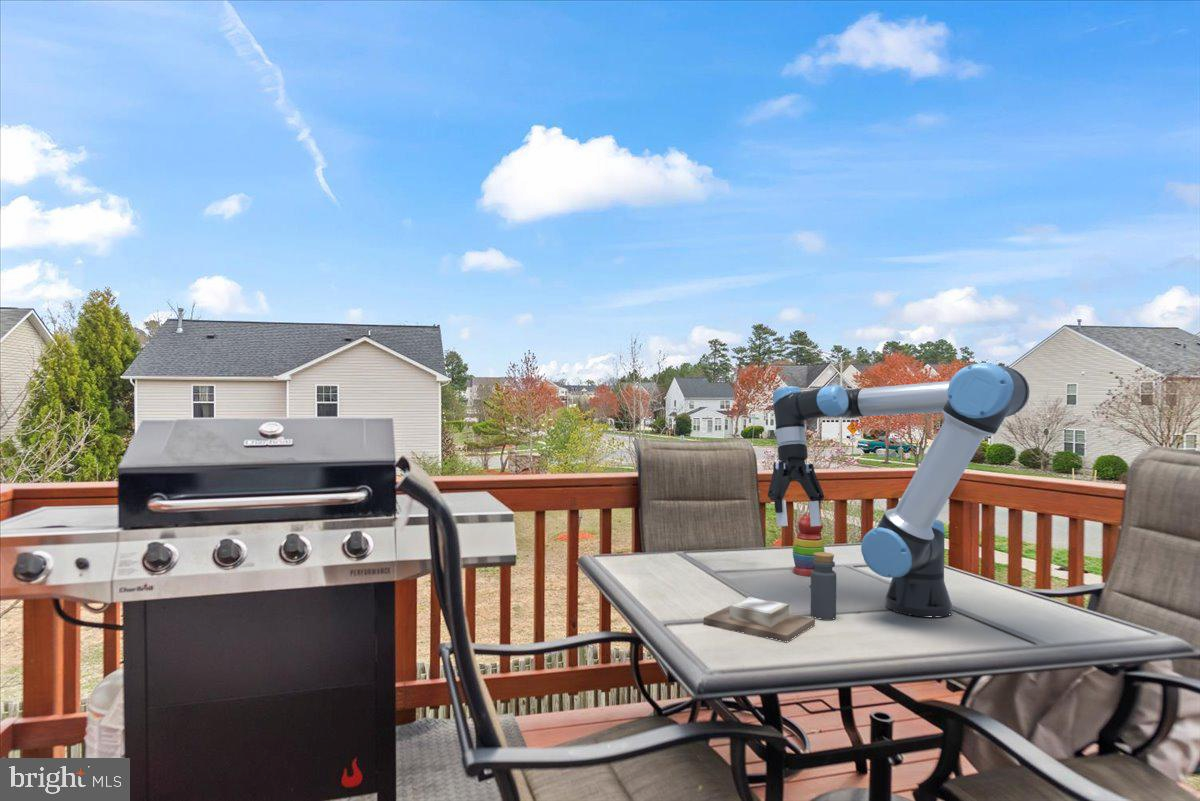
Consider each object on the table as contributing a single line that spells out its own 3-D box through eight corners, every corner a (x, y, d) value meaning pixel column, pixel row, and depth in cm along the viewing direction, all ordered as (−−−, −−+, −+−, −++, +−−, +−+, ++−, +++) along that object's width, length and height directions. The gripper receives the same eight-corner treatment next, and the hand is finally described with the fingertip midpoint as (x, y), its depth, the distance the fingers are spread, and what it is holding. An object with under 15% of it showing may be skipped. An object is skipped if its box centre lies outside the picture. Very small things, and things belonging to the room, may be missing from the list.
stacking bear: (832, 577, 208) (832, 517, 208) (798, 577, 208) (798, 517, 208) (820, 569, 219) (820, 512, 219) (788, 569, 219) (788, 512, 219)
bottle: (823, 621, 163) (823, 557, 163) (805, 615, 168) (805, 552, 169) (841, 618, 166) (842, 555, 166) (823, 612, 171) (823, 550, 171)
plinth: (814, 625, 160) (815, 605, 160) (786, 642, 148) (787, 620, 148) (735, 609, 172) (735, 590, 173) (703, 624, 160) (703, 603, 160)
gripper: (809, 450, 196) (817, 526, 191) (749, 443, 181) (756, 527, 176) (832, 446, 190) (841, 525, 185) (772, 439, 175) (779, 525, 170)
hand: (799, 526), depth 181 cm, fingers open, 13 cm apart
